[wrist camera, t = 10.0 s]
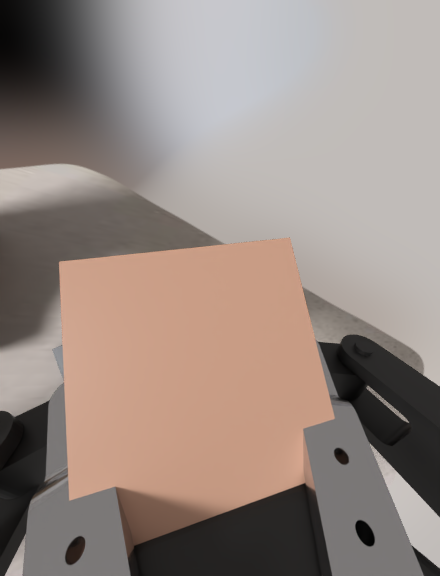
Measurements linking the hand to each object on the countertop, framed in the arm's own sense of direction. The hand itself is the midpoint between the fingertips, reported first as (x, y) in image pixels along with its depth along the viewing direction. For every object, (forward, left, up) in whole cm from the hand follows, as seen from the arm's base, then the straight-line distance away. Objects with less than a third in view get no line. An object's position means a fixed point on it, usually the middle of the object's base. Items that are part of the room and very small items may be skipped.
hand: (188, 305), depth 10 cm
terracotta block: (0, -2, -4) cm, 5 cm away
